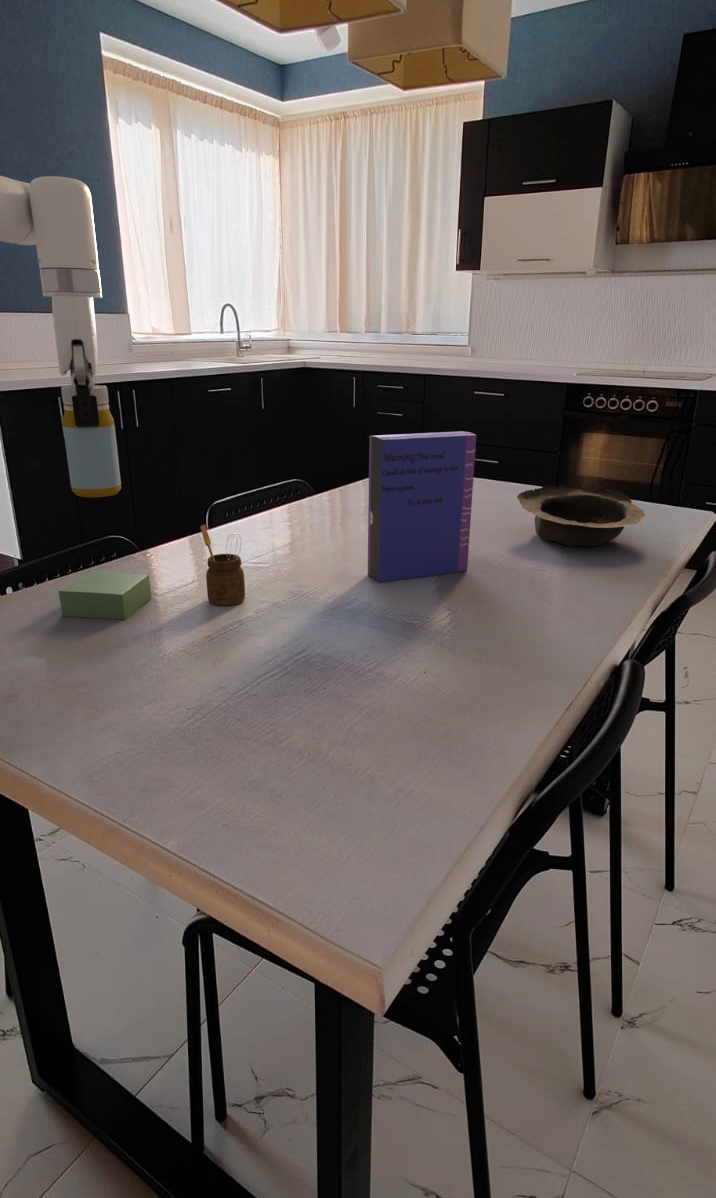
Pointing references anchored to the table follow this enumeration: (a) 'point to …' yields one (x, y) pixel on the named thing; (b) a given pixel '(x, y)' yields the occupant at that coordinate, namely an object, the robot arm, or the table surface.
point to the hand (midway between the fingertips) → (88, 422)
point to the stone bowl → (579, 514)
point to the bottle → (91, 449)
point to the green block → (105, 595)
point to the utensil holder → (224, 576)
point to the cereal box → (419, 504)
